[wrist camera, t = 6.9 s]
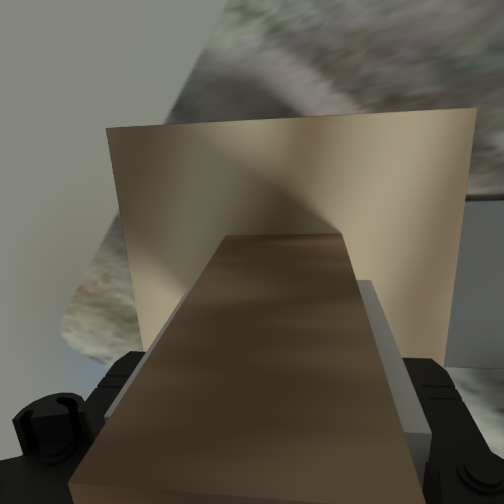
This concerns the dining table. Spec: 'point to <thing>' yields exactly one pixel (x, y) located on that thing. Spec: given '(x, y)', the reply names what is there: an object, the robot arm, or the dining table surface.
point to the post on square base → (279, 304)
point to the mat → (478, 290)
